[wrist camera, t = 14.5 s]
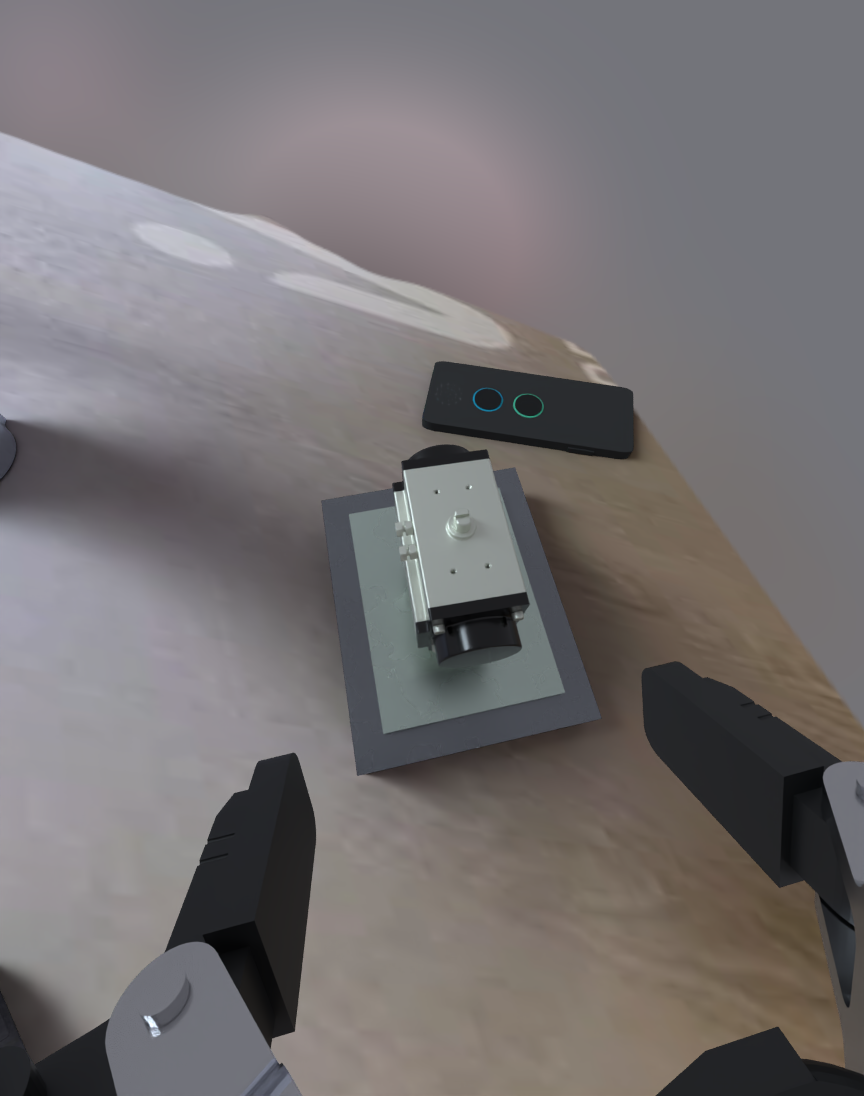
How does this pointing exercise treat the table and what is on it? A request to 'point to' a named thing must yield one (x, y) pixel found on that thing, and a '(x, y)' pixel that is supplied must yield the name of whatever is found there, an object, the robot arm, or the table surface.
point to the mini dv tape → (8, 1028)
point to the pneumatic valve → (458, 557)
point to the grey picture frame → (412, 673)
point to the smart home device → (530, 410)
